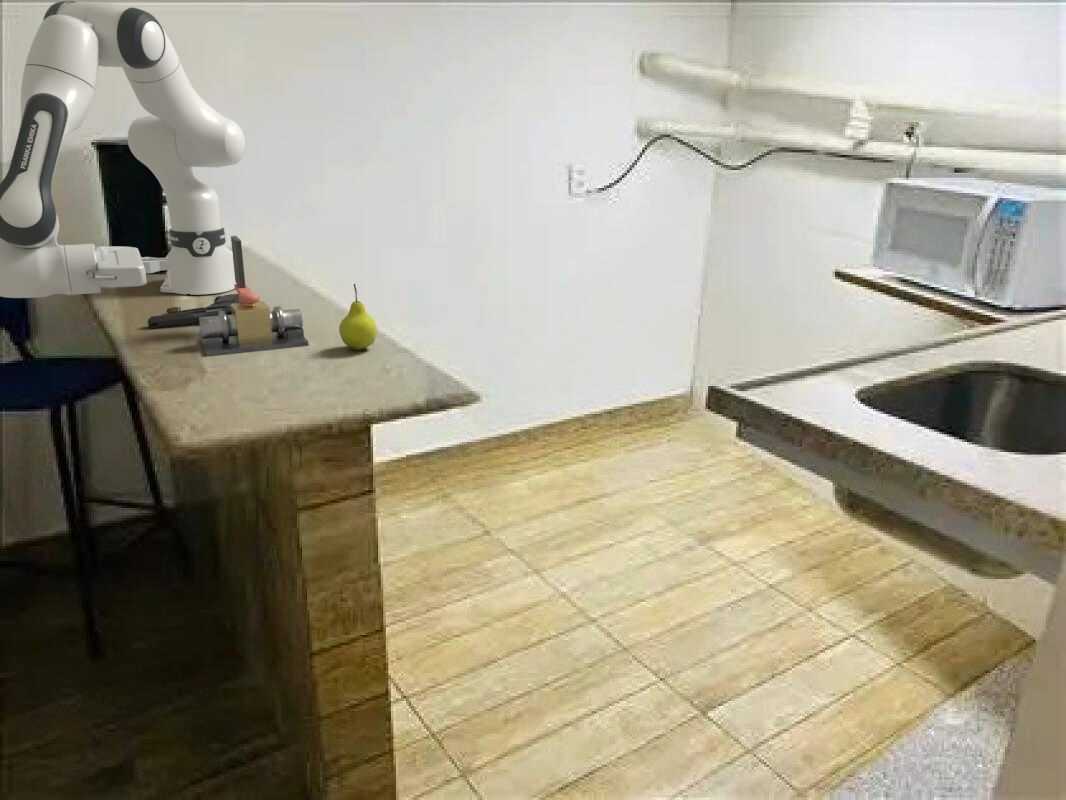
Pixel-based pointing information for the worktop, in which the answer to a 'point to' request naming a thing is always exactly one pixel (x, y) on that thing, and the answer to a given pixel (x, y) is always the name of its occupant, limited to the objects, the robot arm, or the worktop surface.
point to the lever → (241, 274)
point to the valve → (251, 329)
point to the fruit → (358, 327)
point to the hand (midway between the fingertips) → (169, 263)
